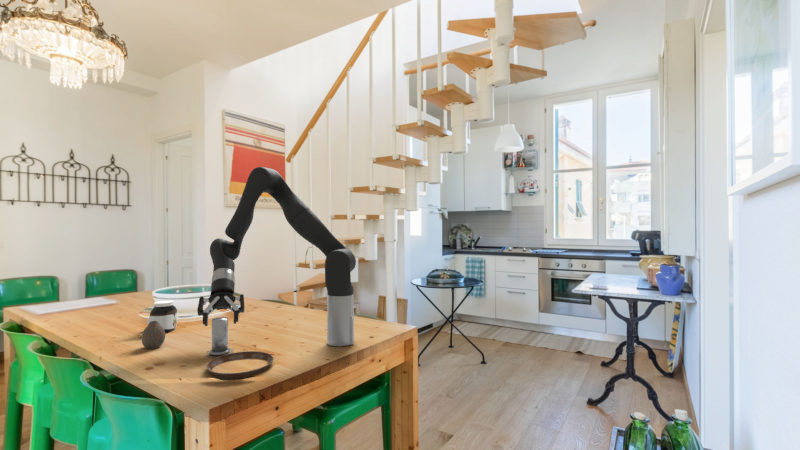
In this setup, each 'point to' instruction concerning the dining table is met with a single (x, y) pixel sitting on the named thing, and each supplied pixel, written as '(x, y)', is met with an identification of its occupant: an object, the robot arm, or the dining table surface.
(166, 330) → the spread jar
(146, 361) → the dining table surface
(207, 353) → the stand
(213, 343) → the metal cylinder canister
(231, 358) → the brown shallow round tray
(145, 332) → the dark brown oval lump
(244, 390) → the dining table surface
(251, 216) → the robot arm
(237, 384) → the dining table surface
